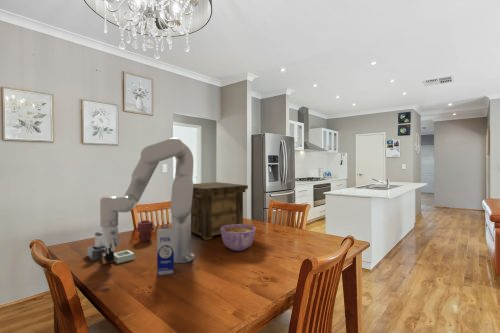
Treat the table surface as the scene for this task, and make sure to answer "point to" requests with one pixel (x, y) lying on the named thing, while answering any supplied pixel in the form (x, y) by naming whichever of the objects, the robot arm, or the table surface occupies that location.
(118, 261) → the pale green tray
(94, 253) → the socket block
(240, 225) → the bowl of food
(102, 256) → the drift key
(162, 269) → the milk carton
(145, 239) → the dark red pot
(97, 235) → the grey peg
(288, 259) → the table surface
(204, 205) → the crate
